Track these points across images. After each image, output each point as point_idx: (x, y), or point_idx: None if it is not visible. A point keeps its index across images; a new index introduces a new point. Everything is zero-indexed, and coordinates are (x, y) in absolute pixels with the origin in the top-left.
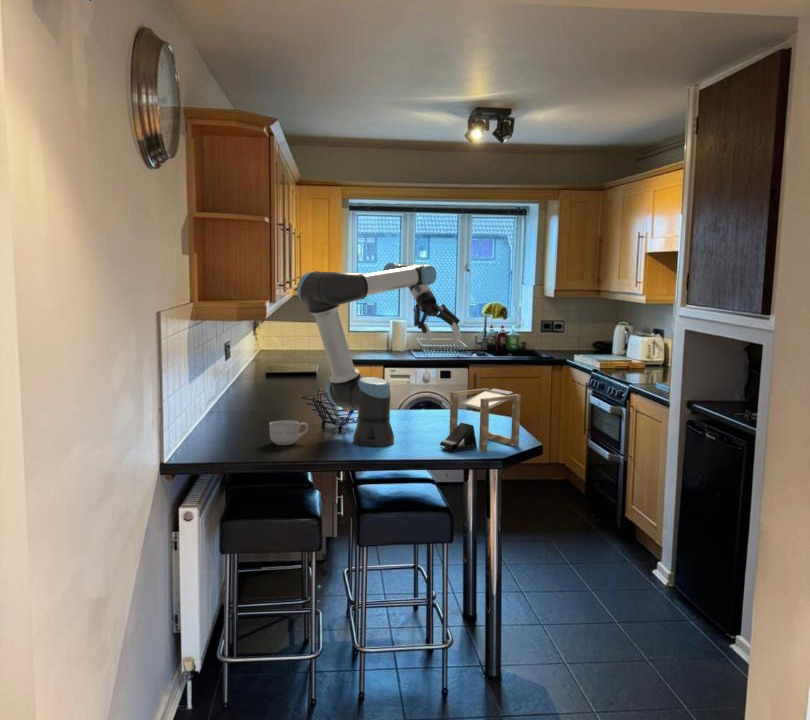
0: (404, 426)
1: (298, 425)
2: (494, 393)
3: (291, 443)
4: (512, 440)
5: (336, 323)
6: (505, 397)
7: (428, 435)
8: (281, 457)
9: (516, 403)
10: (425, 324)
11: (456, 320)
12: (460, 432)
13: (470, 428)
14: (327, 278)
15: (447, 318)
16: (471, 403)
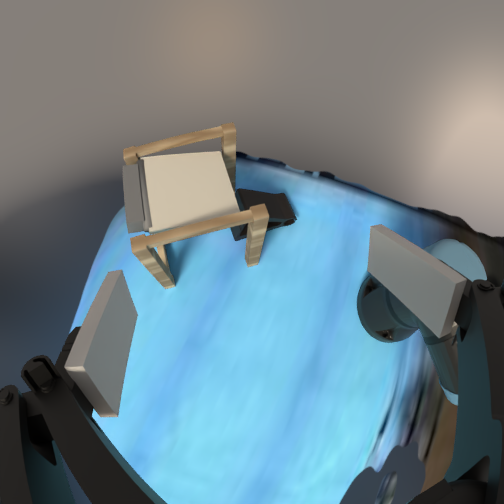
0: (292, 430)
1: None
2: (148, 197)
3: None
4: None
5: None
6: (168, 139)
7: (273, 336)
8: (484, 253)
9: (139, 157)
10: (455, 272)
11: (36, 364)
12: (261, 201)
13: (244, 190)
14: None
15: (115, 456)
16: (226, 191)
